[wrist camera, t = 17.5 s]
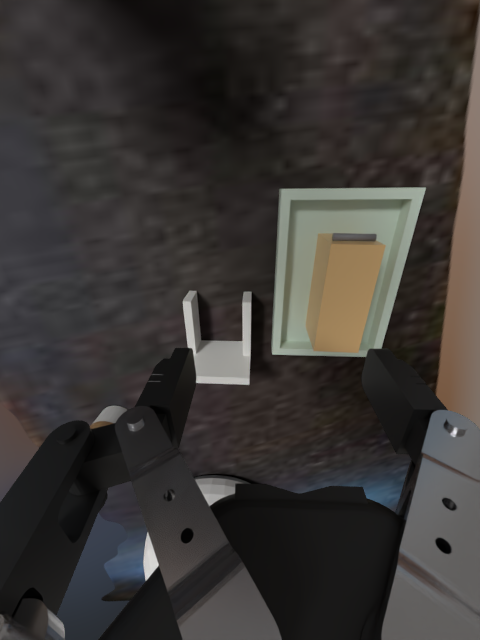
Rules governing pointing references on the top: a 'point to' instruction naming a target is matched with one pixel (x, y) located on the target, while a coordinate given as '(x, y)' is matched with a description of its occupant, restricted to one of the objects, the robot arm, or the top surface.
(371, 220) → the tray
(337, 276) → the box with top handle
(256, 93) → the top surface
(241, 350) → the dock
